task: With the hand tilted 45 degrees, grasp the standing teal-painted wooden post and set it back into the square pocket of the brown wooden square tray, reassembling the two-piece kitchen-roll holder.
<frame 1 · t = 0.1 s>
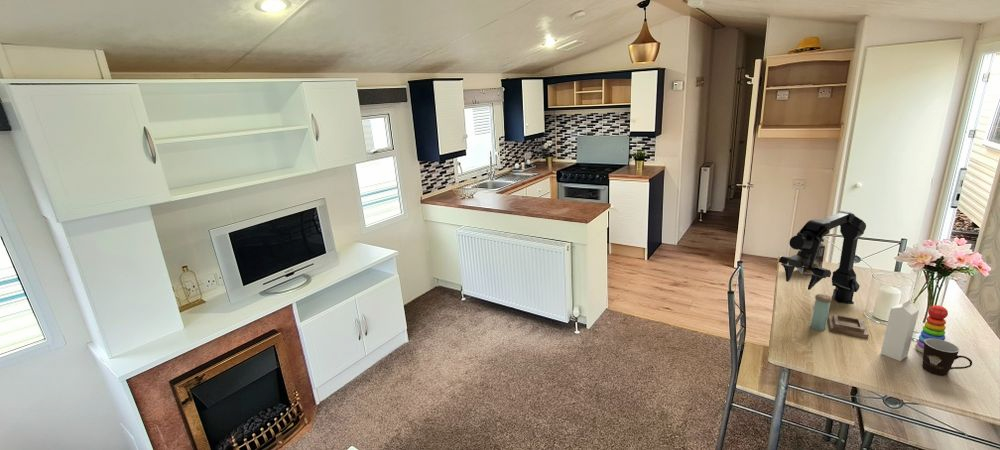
hand: (797, 285, 187), 15 cm above the table, tool pointing down, fingers open, 9 cm apart
stacking toy: (928, 352, 164), on the table
coffee box: (808, 272, 234), on the table
milk: (893, 355, 163), on the table
coffee mug: (939, 373, 152), on the table
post: (818, 327, 183), on the table
brown wooden square tray: (847, 327, 181), on the table
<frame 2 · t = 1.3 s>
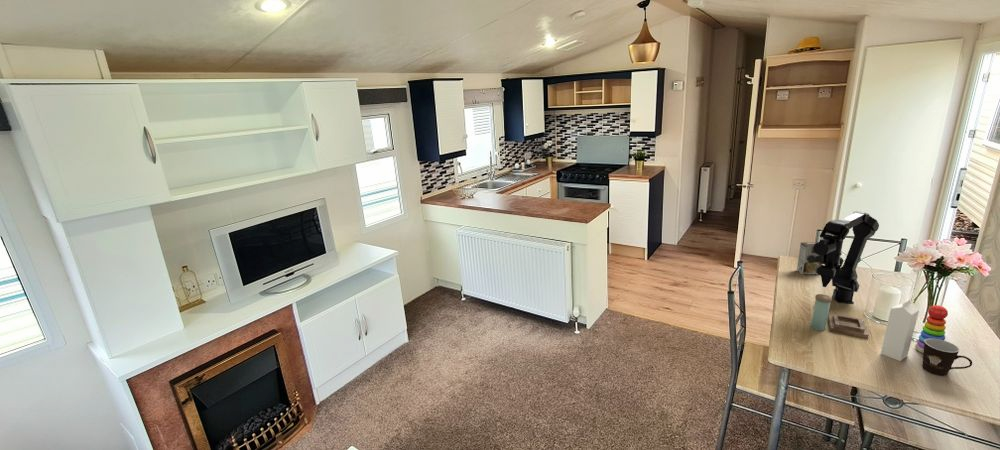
hand: (826, 283, 192), 13 cm above the table, tool pointing down, fingers open, 9 cm apart
nothing on the table moved.
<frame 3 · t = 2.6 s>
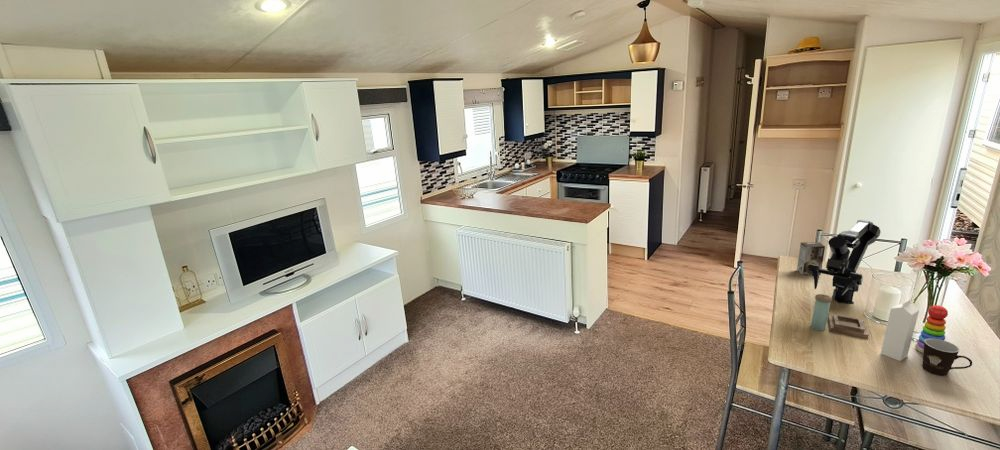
hand: (828, 291, 184), 13 cm above the table, tool tilted 45°, fingers open, 9 cm apart
nothing on the table moved.
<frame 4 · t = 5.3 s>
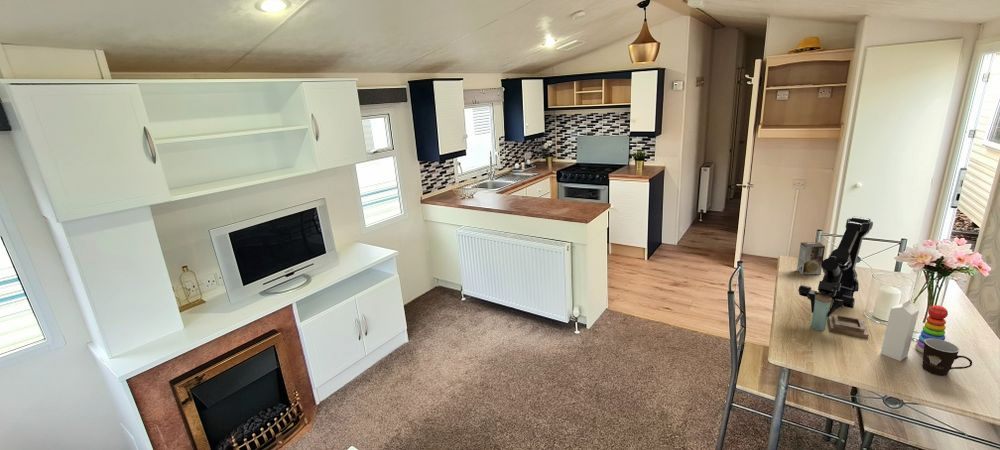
hand: (819, 314, 180), 7 cm above the table, tool tilted 45°, fingers closed on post, 5 cm apart
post: (818, 327, 183), on the table, touching gripper
everything else where it was.
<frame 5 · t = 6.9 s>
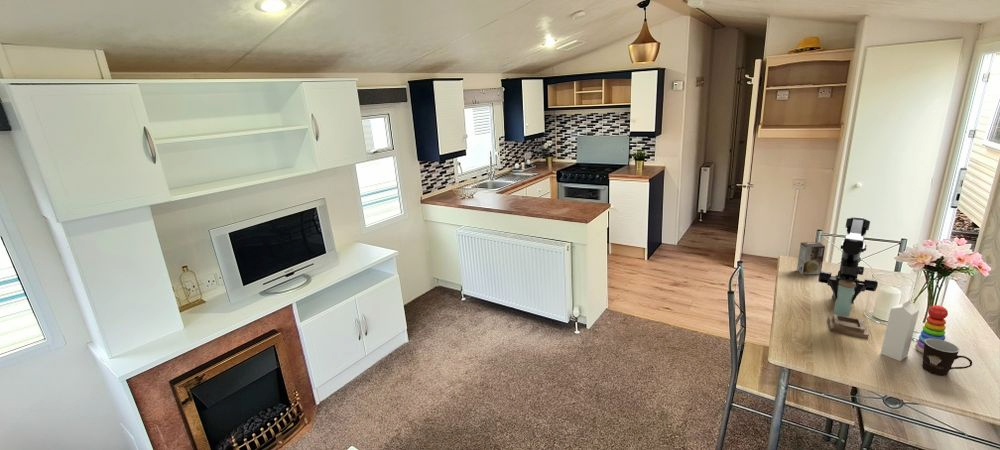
hand: (844, 300, 177), 13 cm above the table, tool tilted 45°, fingers closed on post, 5 cm apart
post: (841, 313, 180), point 7 cm above the table, touching gripper
everything else where it was.
when the fingers open (9 cm above the table, at t = 8.5 s): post drops 1 cm, resting on brown wooden square tray.
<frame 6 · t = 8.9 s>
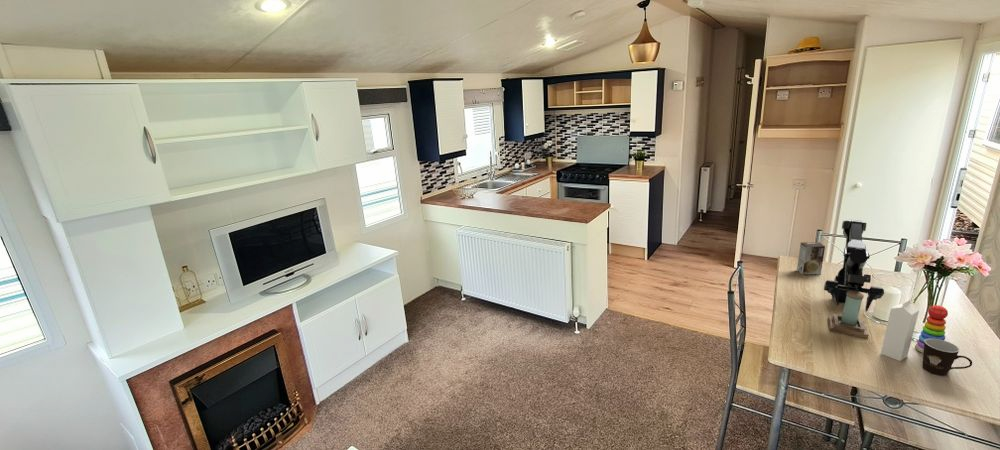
hand: (851, 308, 177), 10 cm above the table, tool tilted 45°, fingers open, 9 cm apart
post: (848, 324, 181), point 2 cm above the table, touching brown wooden square tray
everything else where it was.
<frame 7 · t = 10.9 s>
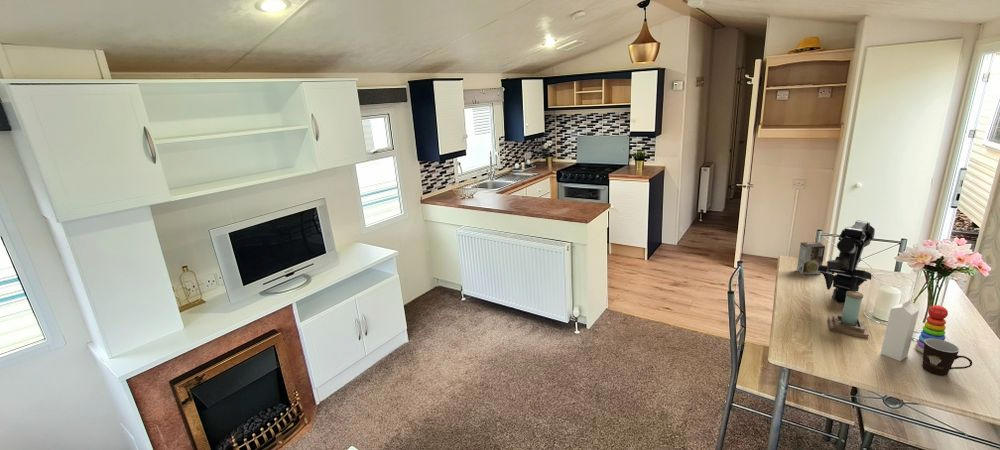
hand: (839, 291, 189), 11 cm above the table, tool tilted 25°, fingers open, 9 cm apart
nothing on the table moved.
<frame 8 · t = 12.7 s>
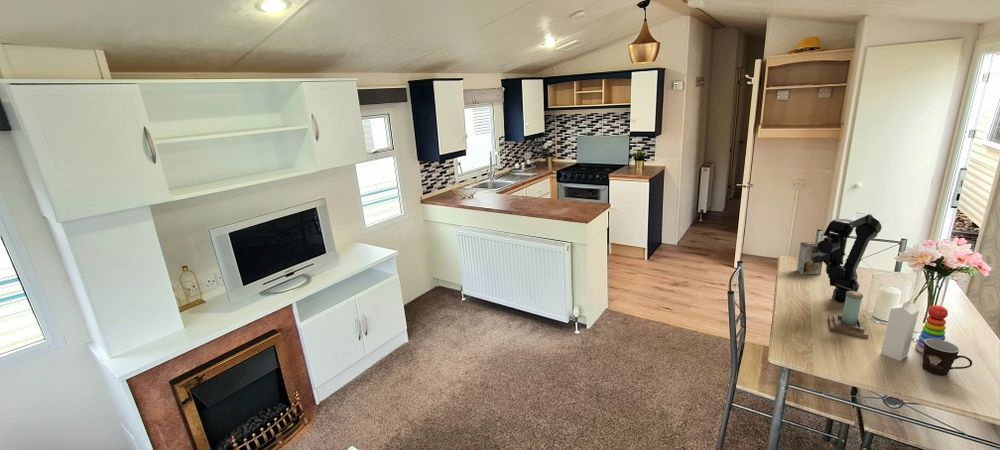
hand: (830, 281, 194), 13 cm above the table, tool pointing down, fingers open, 9 cm apart
nothing on the table moved.
at the end: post 0.1 cm off-centre on the brown wooden square tray, point 1.6 cm above the brown wooden square tray's base; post tilted 1°; the gripper is holding nothing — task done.
